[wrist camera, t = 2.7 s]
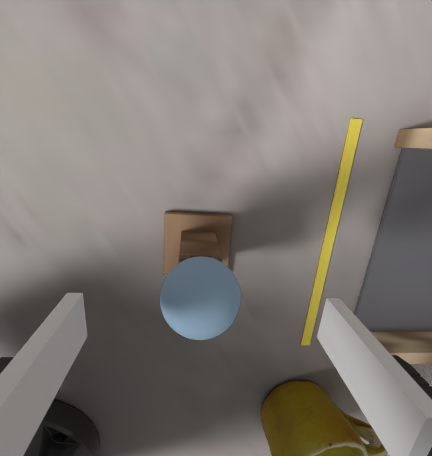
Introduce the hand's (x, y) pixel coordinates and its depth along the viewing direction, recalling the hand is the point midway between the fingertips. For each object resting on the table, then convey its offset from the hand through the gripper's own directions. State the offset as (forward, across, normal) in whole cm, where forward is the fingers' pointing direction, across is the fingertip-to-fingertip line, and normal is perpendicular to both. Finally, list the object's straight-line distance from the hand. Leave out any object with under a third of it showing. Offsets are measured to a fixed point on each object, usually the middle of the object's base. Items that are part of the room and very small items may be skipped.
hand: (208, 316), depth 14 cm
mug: (+11, +14, -21) cm, 28 cm away
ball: (+2, 0, 0) cm, 2 cm away
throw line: (+11, +12, 0) cm, 17 cm away
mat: (+11, +26, 0) cm, 28 cm away
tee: (+11, 0, 0) cm, 11 cm away
